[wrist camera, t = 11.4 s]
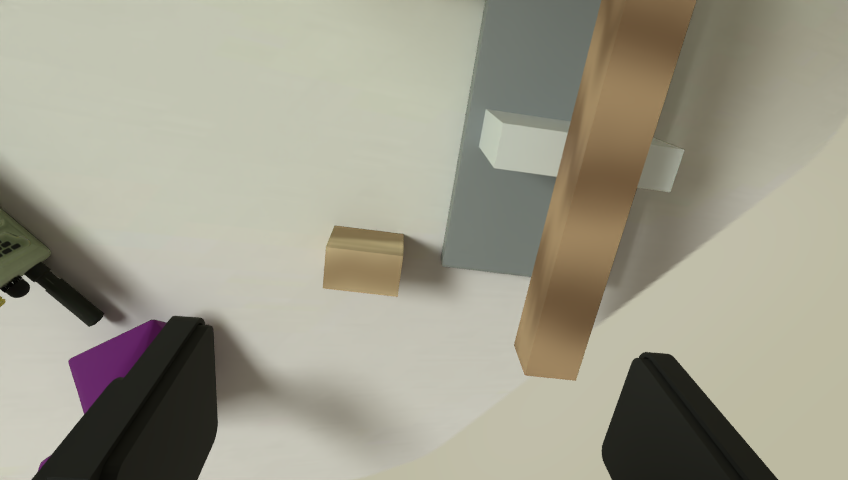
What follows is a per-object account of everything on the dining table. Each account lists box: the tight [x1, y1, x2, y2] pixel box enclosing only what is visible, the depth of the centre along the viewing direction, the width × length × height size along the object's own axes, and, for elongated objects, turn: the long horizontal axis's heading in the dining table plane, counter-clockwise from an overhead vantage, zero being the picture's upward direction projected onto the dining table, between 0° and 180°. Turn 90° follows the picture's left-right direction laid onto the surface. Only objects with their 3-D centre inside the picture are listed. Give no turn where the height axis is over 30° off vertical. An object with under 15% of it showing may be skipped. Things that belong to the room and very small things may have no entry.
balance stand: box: [441, 0, 685, 277], centre depth 30 cm, size 20×12×8 cm, turn 172°
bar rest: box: [323, 226, 404, 297], centre depth 30 cm, size 23×5×4 cm, turn 172°
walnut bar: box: [514, 0, 696, 380], centre depth 25 cm, size 24×3×3 cm, turn 172°
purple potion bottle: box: [38, 320, 166, 471], centre depth 30 cm, size 8×8×18 cm
